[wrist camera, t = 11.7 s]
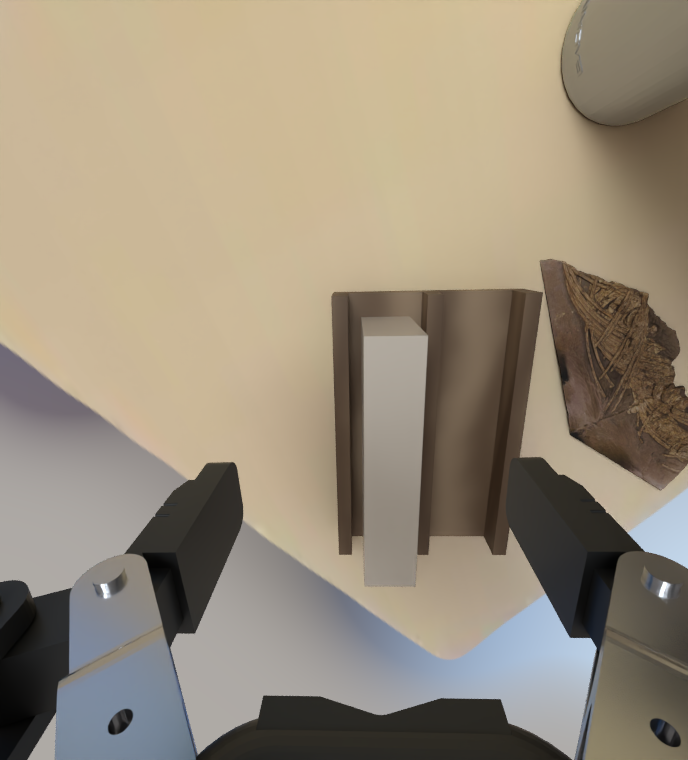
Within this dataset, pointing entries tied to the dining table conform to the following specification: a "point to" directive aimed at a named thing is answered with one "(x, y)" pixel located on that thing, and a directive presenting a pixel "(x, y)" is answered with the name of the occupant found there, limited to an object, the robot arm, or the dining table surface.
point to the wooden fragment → (618, 373)
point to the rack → (445, 405)
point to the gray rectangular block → (391, 446)
